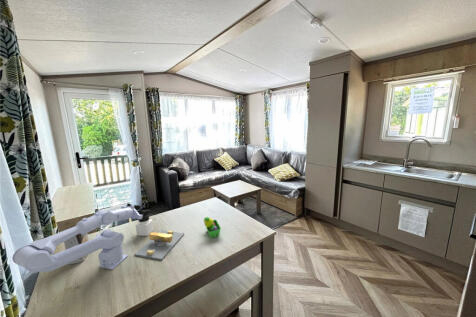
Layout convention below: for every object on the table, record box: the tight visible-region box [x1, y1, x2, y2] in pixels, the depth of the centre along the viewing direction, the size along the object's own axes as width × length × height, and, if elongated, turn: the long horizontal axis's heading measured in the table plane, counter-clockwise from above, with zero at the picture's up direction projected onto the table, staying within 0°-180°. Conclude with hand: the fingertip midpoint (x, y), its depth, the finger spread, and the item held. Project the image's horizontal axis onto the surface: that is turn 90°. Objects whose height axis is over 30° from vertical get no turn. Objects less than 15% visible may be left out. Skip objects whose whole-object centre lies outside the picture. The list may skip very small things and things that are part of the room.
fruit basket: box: [203, 216, 222, 238], centre depth 115 cm, size 11×9×11 cm
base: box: [134, 230, 185, 261], centre depth 106 cm, size 22×16×2 cm
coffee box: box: [63, 224, 90, 265], centre depth 96 cm, size 9×6×16 cm
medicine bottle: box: [135, 213, 155, 237], centre depth 117 cm, size 7×7×12 cm
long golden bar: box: [148, 231, 172, 245], centre depth 105 cm, size 7×13×4 cm, turn 76°
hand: (144, 209), depth 109 cm, fingers open, 7 cm apart
